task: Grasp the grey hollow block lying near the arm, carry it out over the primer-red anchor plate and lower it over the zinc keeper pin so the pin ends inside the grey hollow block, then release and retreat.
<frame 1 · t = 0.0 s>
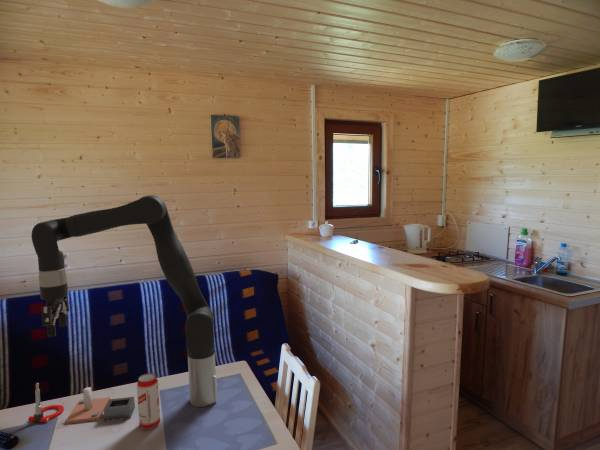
hand: (57, 331, 126), 29 cm above the table, fingers open, 8 cm apart
keeper plate: (88, 411, 131), on the table
beer can: (150, 425, 124), on the table
tow hook: (48, 415, 130), on the table
grey hollow block: (120, 414, 129), on the table
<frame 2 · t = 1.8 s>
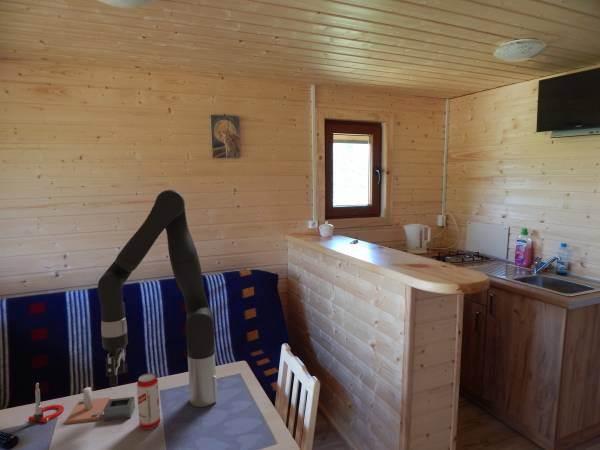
hand: (117, 378, 128), 13 cm above the table, fingers open, 8 cm apart
nothing on the table moved.
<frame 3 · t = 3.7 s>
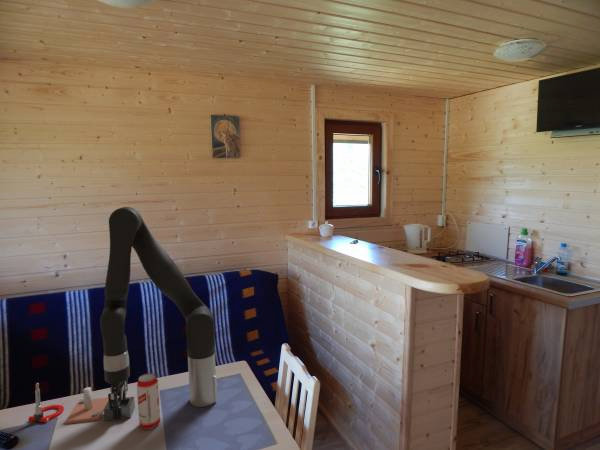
hand: (120, 412, 129), 1 cm above the table, fingers closed on grey hollow block, 6 cm apart
grey hollow block: (120, 414, 129), on the table, touching gripper
everything else where it was.
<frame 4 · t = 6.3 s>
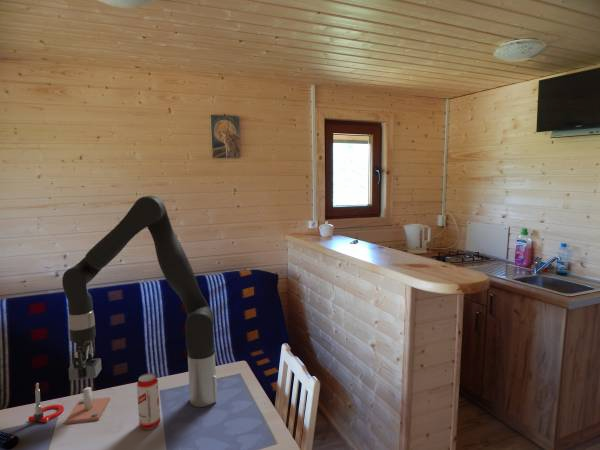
hand: (85, 372, 130), 14 cm above the table, fingers closed on grey hollow block, 6 cm apart
grey hollow block: (85, 374, 130), point 13 cm above the table, touching gripper
everything else where it was.
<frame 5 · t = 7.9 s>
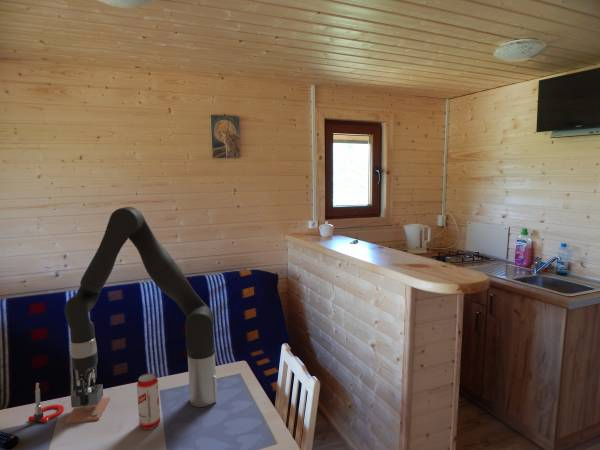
hand: (87, 399, 131), 4 cm above the table, fingers closed on grey hollow block, 6 cm apart
grey hollow block: (87, 401, 131), point 4 cm above the table, touching gripper
everything else where it was.
when the fingers open (4 cm above the table, at t = 8.9 s): grey hollow block drops 2 cm, resting on keeper plate.
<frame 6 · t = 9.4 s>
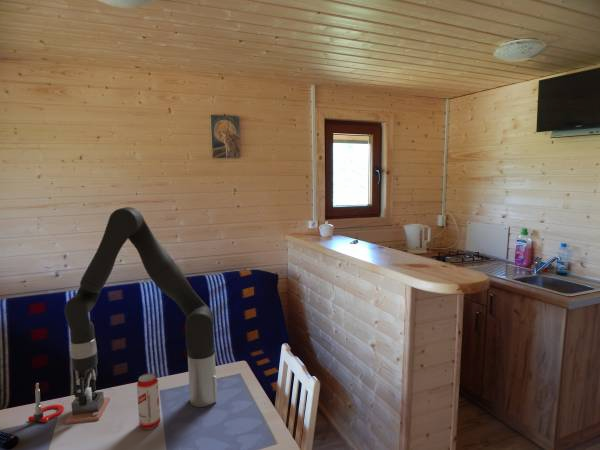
hand: (87, 398, 131), 5 cm above the table, fingers open, 8 cm apart
grey hollow block: (88, 408, 131), point 1 cm above the table, touching keeper plate
everything else where it was.
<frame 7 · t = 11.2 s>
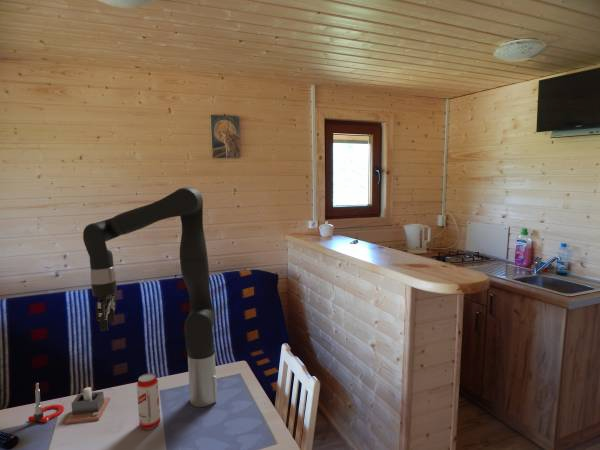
hand: (108, 326, 133), 28 cm above the table, fingers open, 8 cm apart
nothing on the table moved.
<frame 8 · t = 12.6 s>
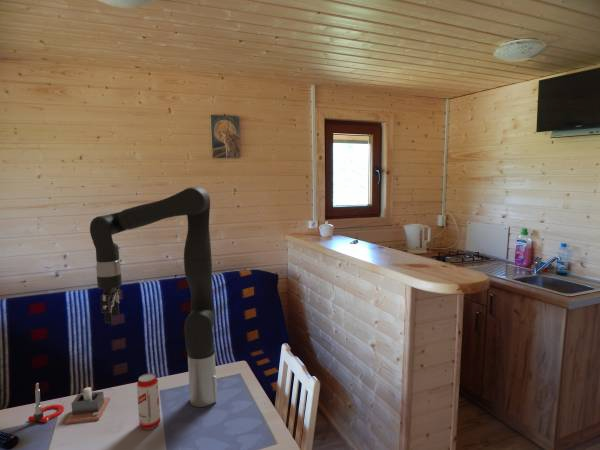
hand: (112, 318, 134), 30 cm above the table, fingers open, 8 cm apart
nothing on the table moved.
at the end: grey hollow block 0.1 cm off-centre on the keeper plate, point 1.0 cm above the keeper plate's base; the gripper is holding nothing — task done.
